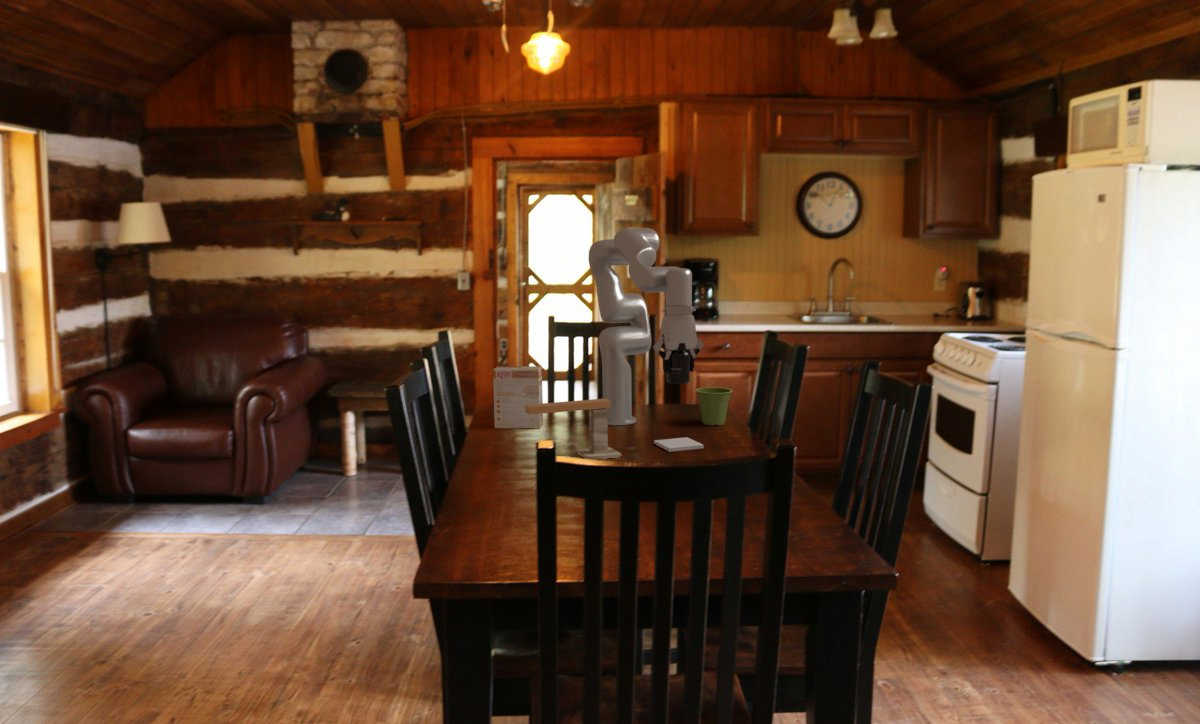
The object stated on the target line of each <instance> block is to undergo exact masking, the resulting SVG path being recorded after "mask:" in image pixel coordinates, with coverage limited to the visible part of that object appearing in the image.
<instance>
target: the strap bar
mask: <svg viewBox="0 0 1200 724" xmlns="http://www.w3.org/2000/svg"><path fill="white" fill-rule="evenodd" d="M603 408H611V401H610V400H608V399H603V398H594V399H581V400H572V401H571V400H569V401H557V402H547V403H546V402H544V403H542V404H529V405H525V412H526V413H528V414H529V415H530V414H542V413H543V414H551V413H565V412H566V413H567V412H575V411H577V412H579V411H589V410H591V409H603Z"/></svg>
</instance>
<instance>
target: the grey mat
mask: <svg viewBox="0 0 1200 724" xmlns="http://www.w3.org/2000/svg"><path fill="white" fill-rule="evenodd" d="M653 444H654V445H655V444H656V445H655V446H657V447H660V448H662V449H663V450H665V451H667V452H670V453H671V452H680V451H690V450H699V449H704V444H702V443H701V442H698V441H696V440H694V439H692V438H691V437H690V438H689V437H687V436H686V437H676V438H666V439H657V440H656V439H655V440H653Z"/></svg>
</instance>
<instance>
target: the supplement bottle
mask: <svg viewBox="0 0 1200 724" xmlns="http://www.w3.org/2000/svg"><path fill="white" fill-rule="evenodd" d="M677 349H678V350H675V351H672V352H671V354H670V357H669V360H670V361H671V372H670V373H666V382H667V383H668V384H673V385H686V384H689V383H690V382H691V372H690V353H689V352H688V351H687V350H686V349H687V348H686V346H685V343H679V347H678V348H677Z"/></svg>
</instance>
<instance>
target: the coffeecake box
mask: <svg viewBox="0 0 1200 724" xmlns="http://www.w3.org/2000/svg"><path fill="white" fill-rule="evenodd" d="M542 367H543V366H540V365H538V366H533V365H532V366H531V365H530V366H529V365H527V366H520V365H519V366H517V365H516V366H498V365H497V366H496V367H495V368H493V370H492V375H493V376H492V378H493V379H492V381H493V413H494V414H493V415H494V417H493V419H494V429H519V428H534V429H535V430H536V429H537V430H538V429H539V430H540V429H541V428H542V426H543V425H544V413H542V414H530V415H529V414H528V413H526V412H525V405H529V404H542V403H543V398H544V397H543V368H542ZM534 429H533V430H534Z"/></svg>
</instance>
